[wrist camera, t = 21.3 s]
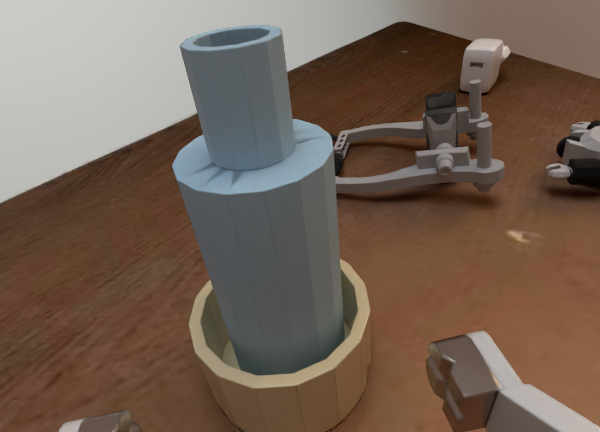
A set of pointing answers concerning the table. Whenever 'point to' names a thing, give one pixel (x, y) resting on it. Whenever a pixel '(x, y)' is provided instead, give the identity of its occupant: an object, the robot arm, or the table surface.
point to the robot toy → (579, 155)
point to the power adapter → (483, 63)
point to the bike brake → (431, 147)
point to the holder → (286, 387)
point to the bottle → (262, 203)
